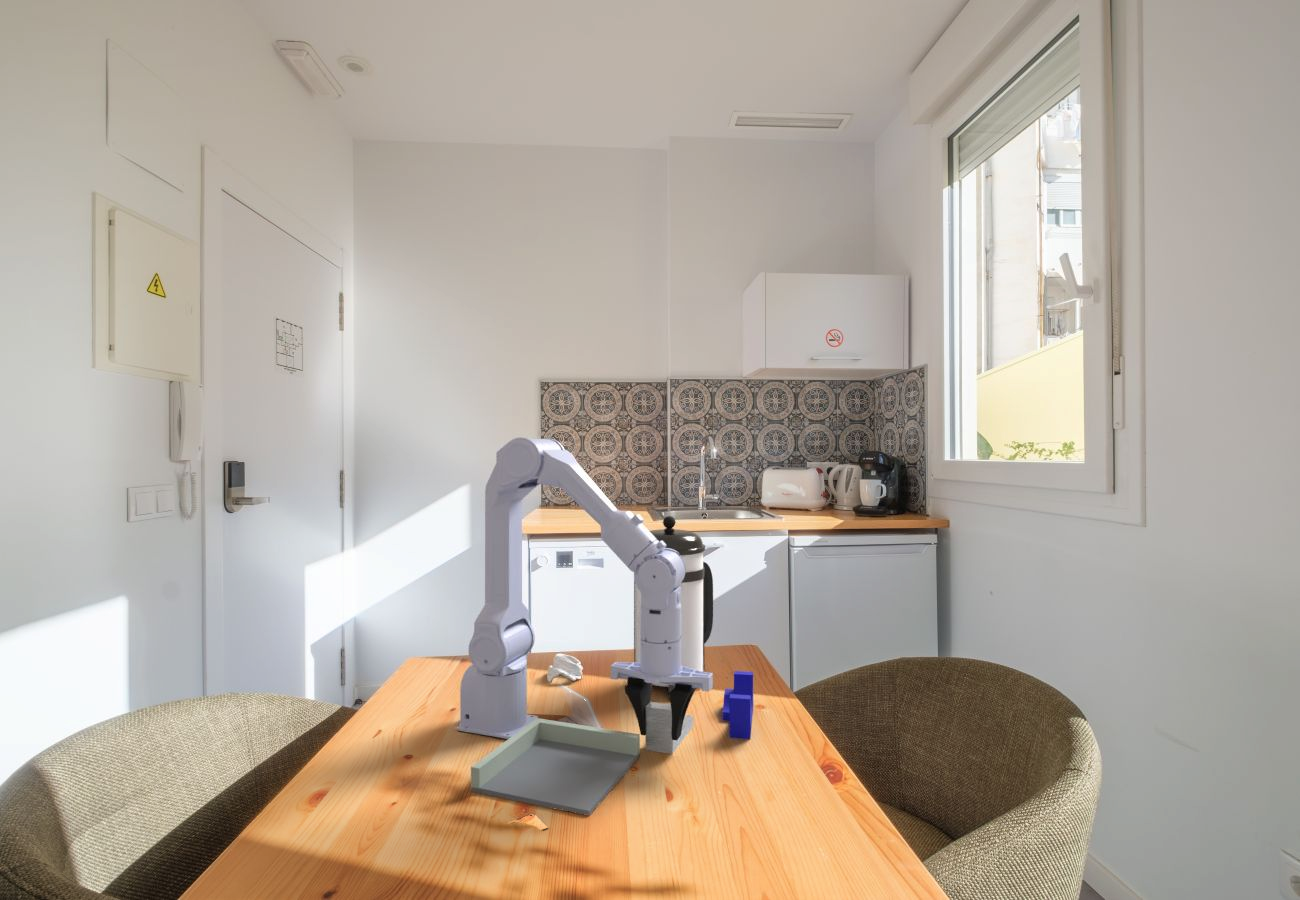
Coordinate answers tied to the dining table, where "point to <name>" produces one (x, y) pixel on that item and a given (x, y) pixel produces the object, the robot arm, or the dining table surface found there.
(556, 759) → the corner tray
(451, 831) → the dining table surface
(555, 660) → the whipped cream
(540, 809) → the dining table surface
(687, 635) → the coffee press
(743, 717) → the cable clip
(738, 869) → the dining table surface
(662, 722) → the brushed metal block
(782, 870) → the dining table surface
